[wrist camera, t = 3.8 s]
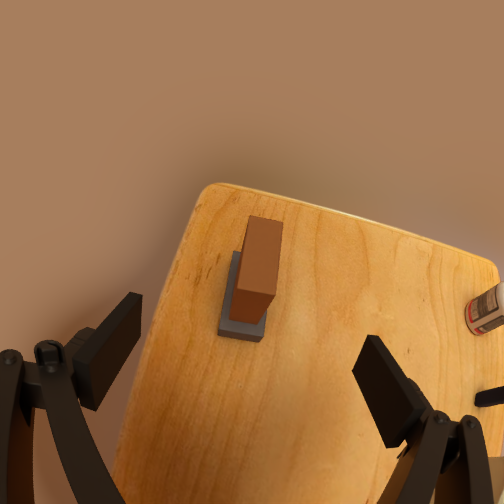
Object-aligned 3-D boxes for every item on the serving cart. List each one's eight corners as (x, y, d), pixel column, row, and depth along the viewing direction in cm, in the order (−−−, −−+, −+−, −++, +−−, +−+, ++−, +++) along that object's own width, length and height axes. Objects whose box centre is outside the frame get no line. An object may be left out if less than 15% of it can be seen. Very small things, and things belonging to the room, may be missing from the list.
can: (440, 529, 17) (506, 543, 7) (414, 499, 20) (489, 513, 10) (480, 477, 21) (546, 475, 10) (459, 443, 24) (533, 435, 13)
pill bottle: (489, 320, 33) (535, 294, 24) (477, 343, 31) (529, 319, 22) (472, 294, 34) (517, 263, 26) (459, 316, 32) (510, 286, 24)
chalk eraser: (217, 335, 27) (223, 300, 19) (231, 262, 31) (242, 202, 23) (258, 342, 28) (284, 311, 19) (268, 269, 32) (293, 213, 23)
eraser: (484, 393, 27) (521, 383, 21) (482, 408, 26) (519, 401, 20) (476, 391, 27) (513, 381, 21) (473, 406, 26) (511, 398, 20)
